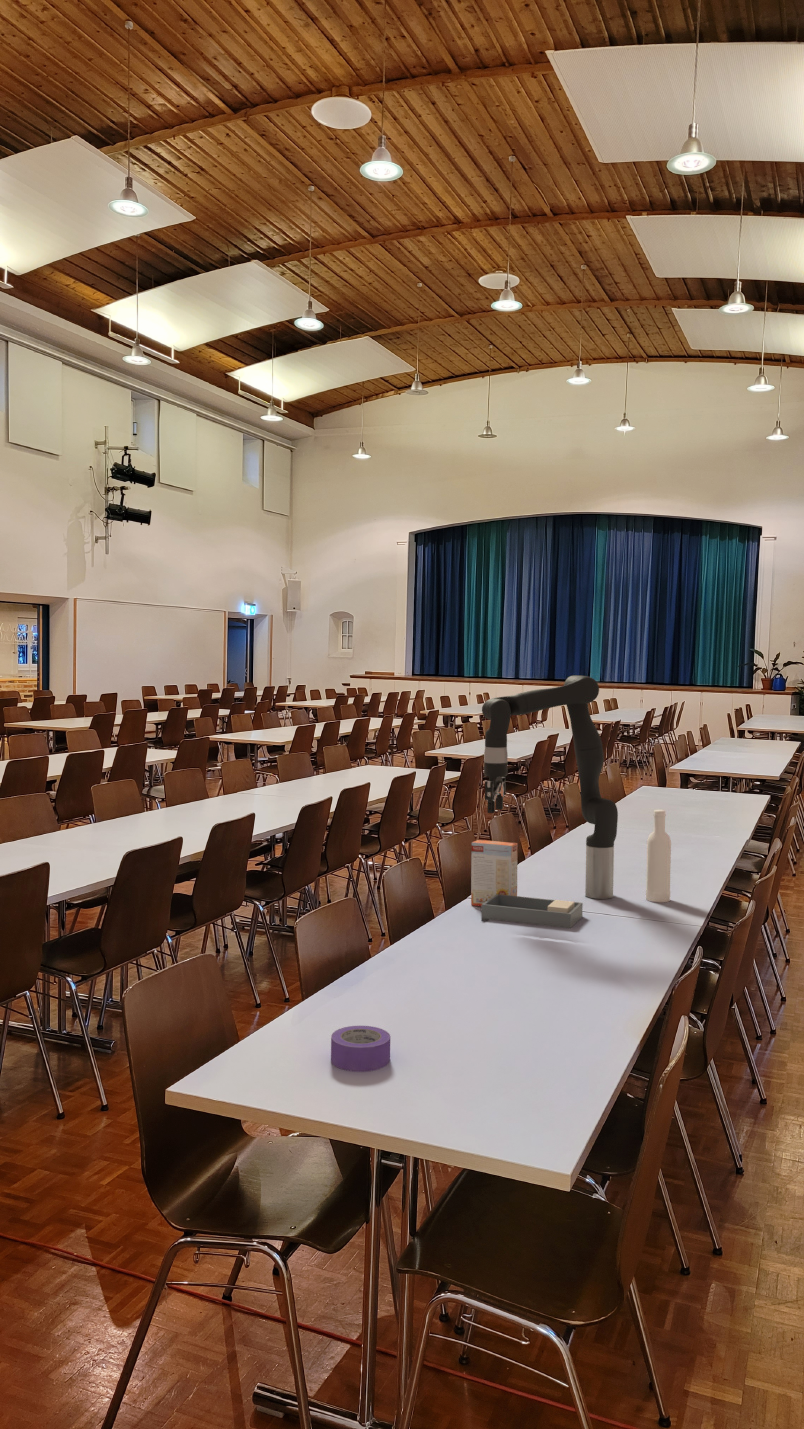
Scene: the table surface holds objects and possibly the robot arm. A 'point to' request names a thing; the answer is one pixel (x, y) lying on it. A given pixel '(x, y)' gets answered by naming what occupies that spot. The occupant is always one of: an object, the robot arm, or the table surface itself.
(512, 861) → the cracker box
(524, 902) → the tote
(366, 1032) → the tape roll
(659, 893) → the bottle
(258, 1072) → the table surface
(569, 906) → the beige block
